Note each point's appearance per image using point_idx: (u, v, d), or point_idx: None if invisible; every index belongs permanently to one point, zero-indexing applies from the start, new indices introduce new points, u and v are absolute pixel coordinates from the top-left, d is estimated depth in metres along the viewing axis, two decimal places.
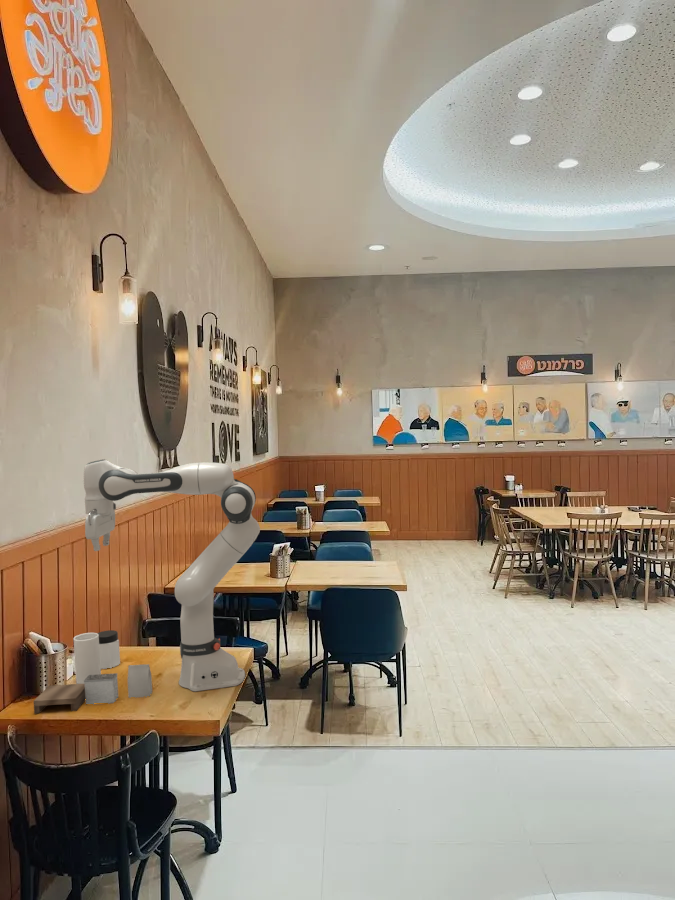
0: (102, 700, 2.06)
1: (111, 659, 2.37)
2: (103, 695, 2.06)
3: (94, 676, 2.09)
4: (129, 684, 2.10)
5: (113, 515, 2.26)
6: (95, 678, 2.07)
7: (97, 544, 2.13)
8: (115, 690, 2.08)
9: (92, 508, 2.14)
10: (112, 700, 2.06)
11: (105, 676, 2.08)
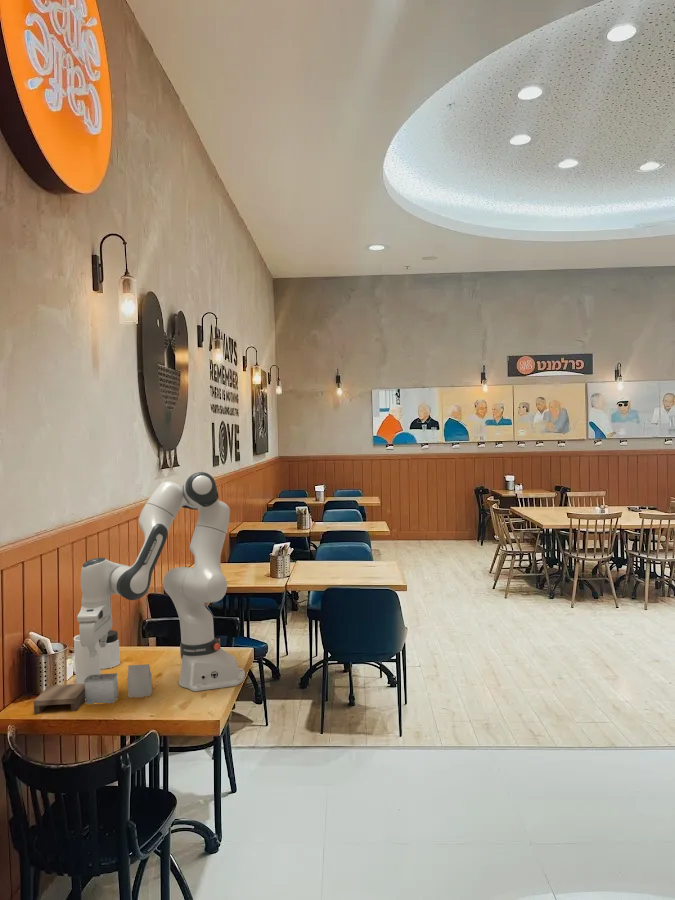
0: (102, 700, 2.06)
1: (111, 659, 2.37)
2: (103, 695, 2.06)
3: (94, 676, 2.09)
4: (129, 684, 2.10)
5: None
6: (95, 678, 2.07)
7: None
8: (115, 690, 2.08)
9: None
10: (112, 700, 2.06)
11: (105, 676, 2.08)
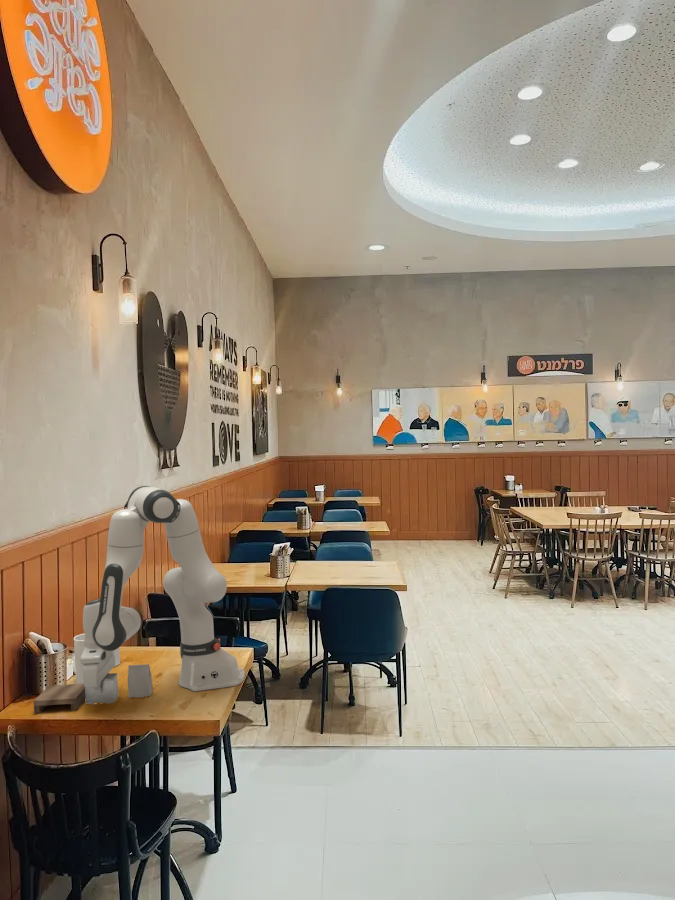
0: (101, 699, 2.06)
1: None
2: (103, 694, 2.06)
3: None
4: (129, 684, 2.10)
5: None
6: None
7: None
8: (115, 690, 2.08)
9: None
10: (112, 700, 2.06)
11: None
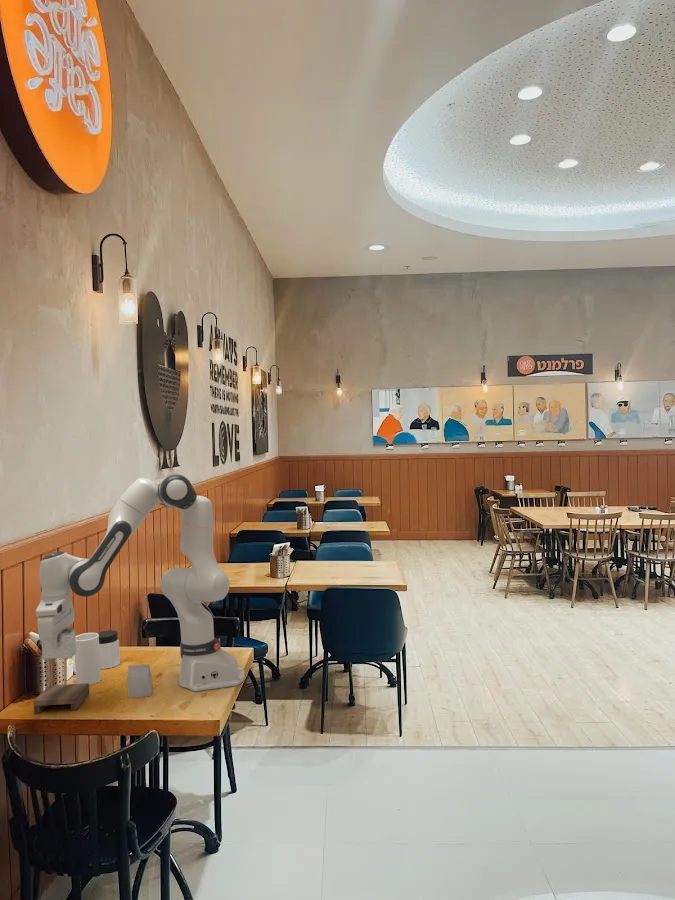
0: (58, 654, 2.04)
1: (111, 659, 2.37)
2: (60, 649, 2.04)
3: None
4: (129, 684, 2.10)
5: None
6: None
7: None
8: (72, 645, 2.06)
9: None
10: (69, 654, 2.05)
11: None
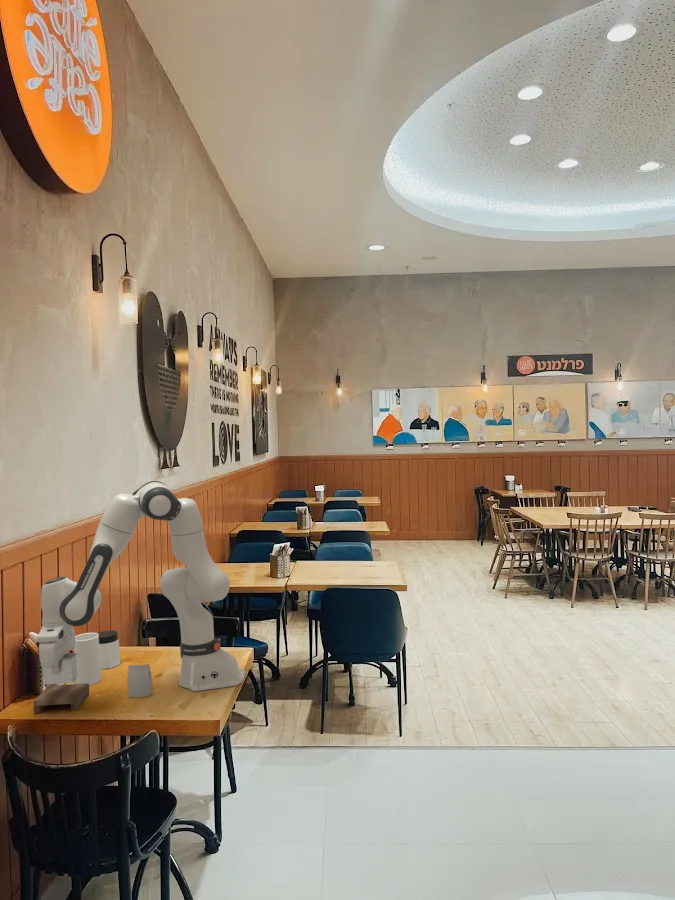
0: (59, 679, 2.04)
1: (111, 659, 2.37)
2: (61, 674, 2.04)
3: None
4: (129, 684, 2.10)
5: None
6: None
7: None
8: (73, 670, 2.06)
9: None
10: (70, 679, 2.04)
11: None
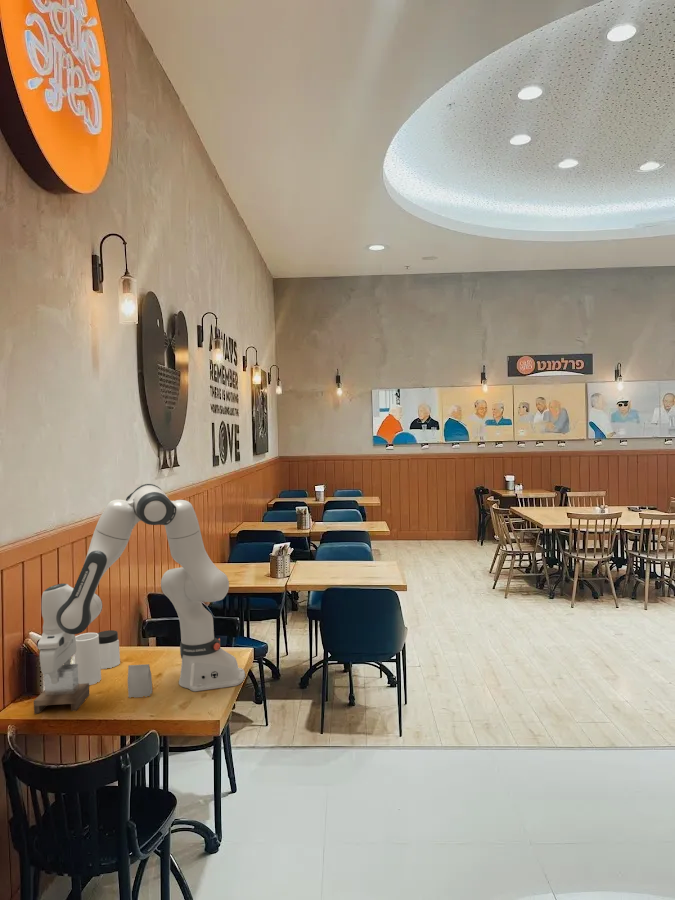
0: (61, 690, 2.05)
1: (111, 659, 2.37)
2: (62, 685, 2.05)
3: None
4: (129, 684, 2.10)
5: None
6: None
7: None
8: (74, 681, 2.07)
9: None
10: (71, 691, 2.05)
11: (65, 666, 2.07)
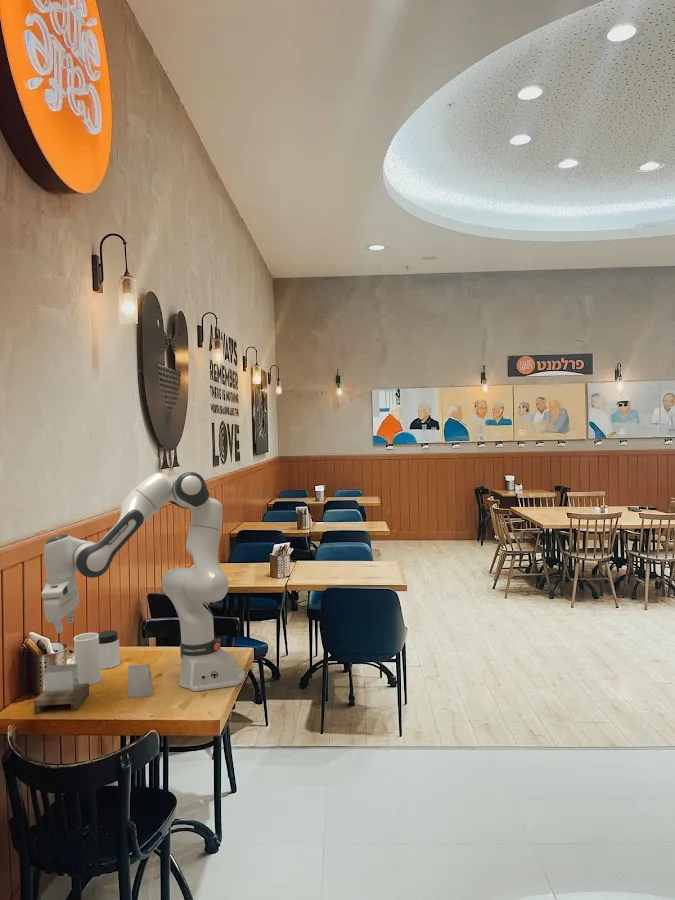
0: (61, 690, 2.05)
1: (111, 659, 2.37)
2: (62, 685, 2.05)
3: (54, 667, 2.07)
4: (129, 684, 2.10)
5: None
6: (55, 669, 2.06)
7: None
8: (74, 681, 2.07)
9: None
10: (71, 691, 2.05)
11: (65, 666, 2.07)
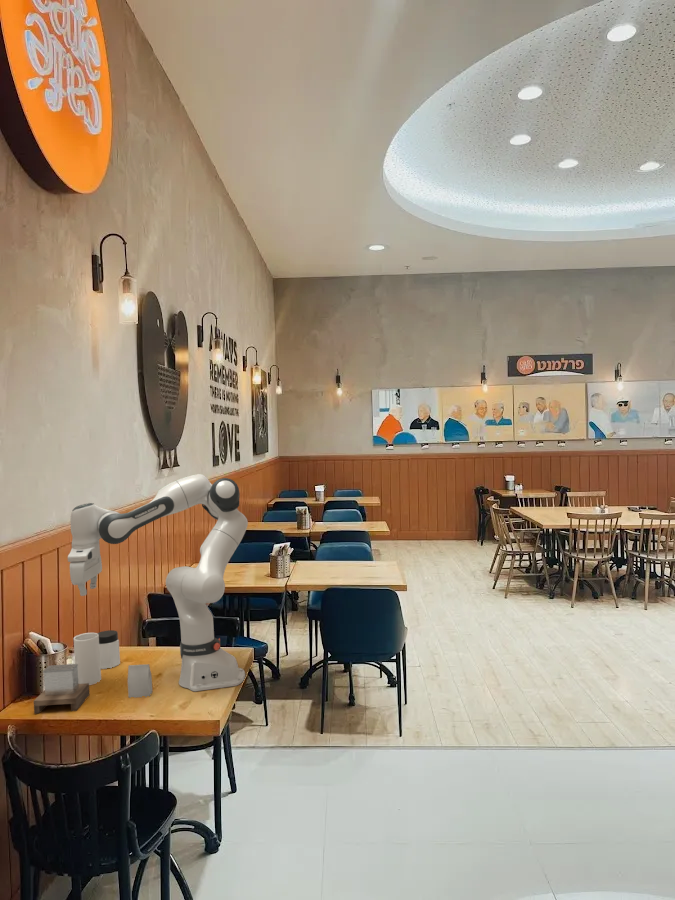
0: (61, 690, 2.05)
1: (111, 659, 2.37)
2: (62, 685, 2.05)
3: (54, 667, 2.07)
4: (129, 684, 2.10)
5: None
6: (55, 669, 2.06)
7: None
8: (74, 681, 2.07)
9: None
10: (71, 691, 2.05)
11: (65, 666, 2.07)
